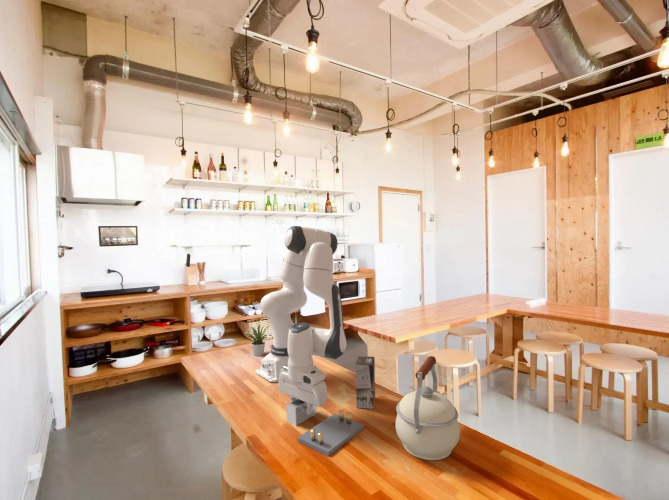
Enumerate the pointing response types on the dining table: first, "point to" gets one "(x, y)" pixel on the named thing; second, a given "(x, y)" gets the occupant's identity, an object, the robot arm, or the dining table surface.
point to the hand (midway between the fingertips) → (301, 410)
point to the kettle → (427, 419)
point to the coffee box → (365, 382)
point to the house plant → (258, 341)
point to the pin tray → (331, 433)
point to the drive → (298, 411)
